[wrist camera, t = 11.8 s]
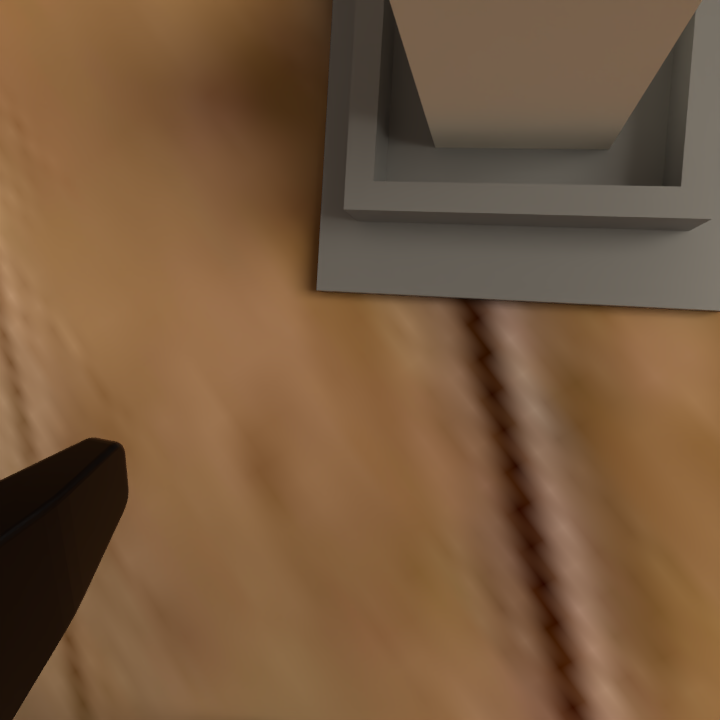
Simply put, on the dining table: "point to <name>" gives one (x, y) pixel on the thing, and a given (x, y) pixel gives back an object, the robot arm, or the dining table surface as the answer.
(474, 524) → the dining table surface
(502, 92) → the cream block
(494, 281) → the tray
